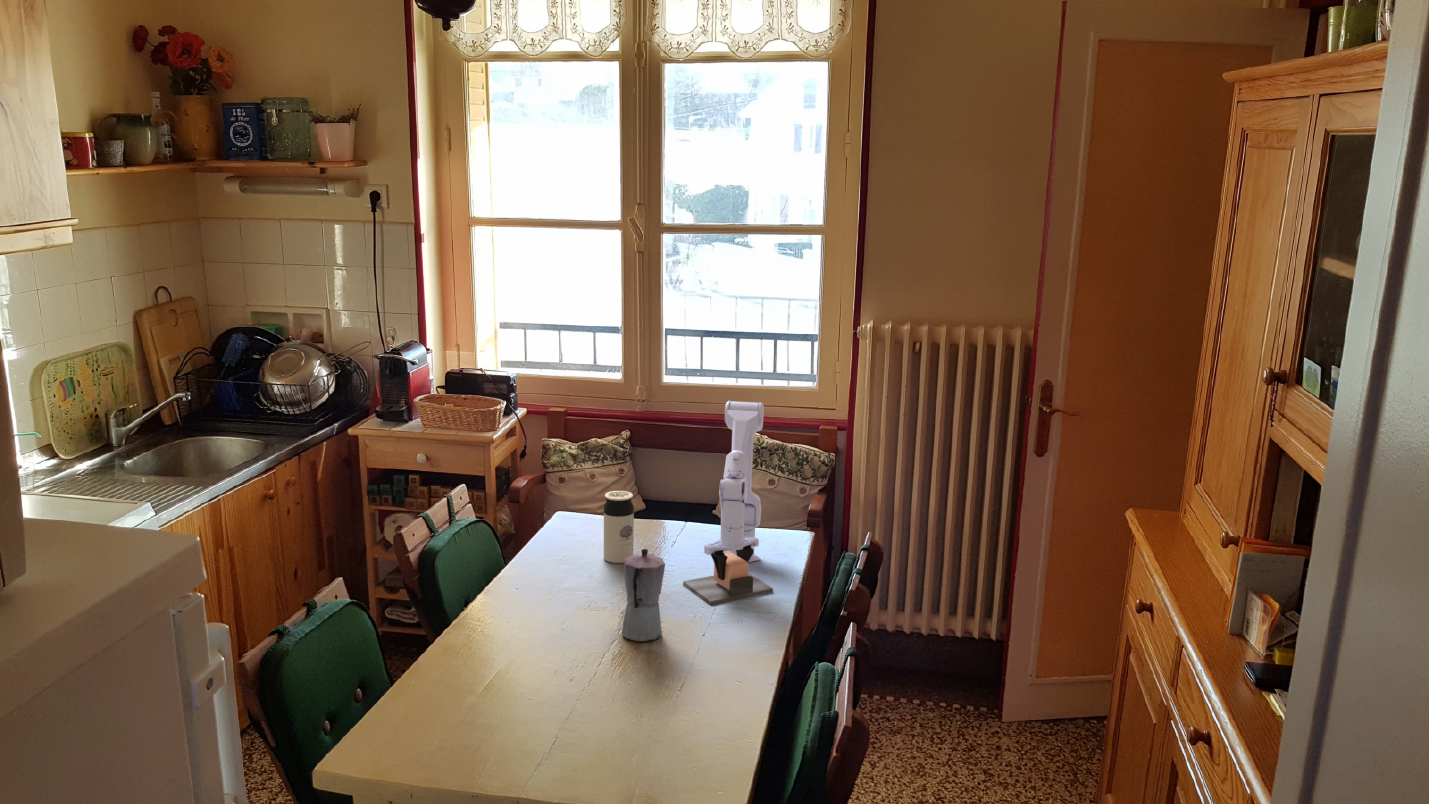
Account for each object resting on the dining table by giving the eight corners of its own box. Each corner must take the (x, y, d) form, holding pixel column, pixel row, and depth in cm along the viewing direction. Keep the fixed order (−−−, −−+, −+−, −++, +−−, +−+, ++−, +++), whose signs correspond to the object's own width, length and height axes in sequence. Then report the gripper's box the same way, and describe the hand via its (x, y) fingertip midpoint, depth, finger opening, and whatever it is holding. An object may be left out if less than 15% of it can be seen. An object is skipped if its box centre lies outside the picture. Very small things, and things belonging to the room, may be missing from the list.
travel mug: (599, 555, 283) (599, 492, 279) (627, 551, 286) (627, 488, 282) (609, 565, 276) (609, 500, 272) (637, 561, 279) (638, 497, 275)
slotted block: (713, 579, 263) (714, 555, 262) (730, 576, 266) (731, 552, 264) (730, 590, 257) (730, 565, 255) (747, 587, 259) (748, 562, 258)
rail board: (683, 585, 264) (683, 566, 263) (744, 573, 273) (744, 555, 272) (710, 605, 252) (710, 585, 251) (773, 592, 261) (773, 573, 260)
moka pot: (668, 622, 242) (669, 540, 238) (658, 652, 227) (659, 565, 223) (627, 620, 243) (628, 538, 239) (614, 649, 228) (615, 562, 224)
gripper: (714, 534, 251) (713, 587, 254) (765, 525, 258) (763, 577, 261) (700, 525, 257) (699, 577, 260) (750, 517, 264) (749, 568, 267)
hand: (730, 576), depth 261 cm, fingers closed on slotted block, 5 cm apart
